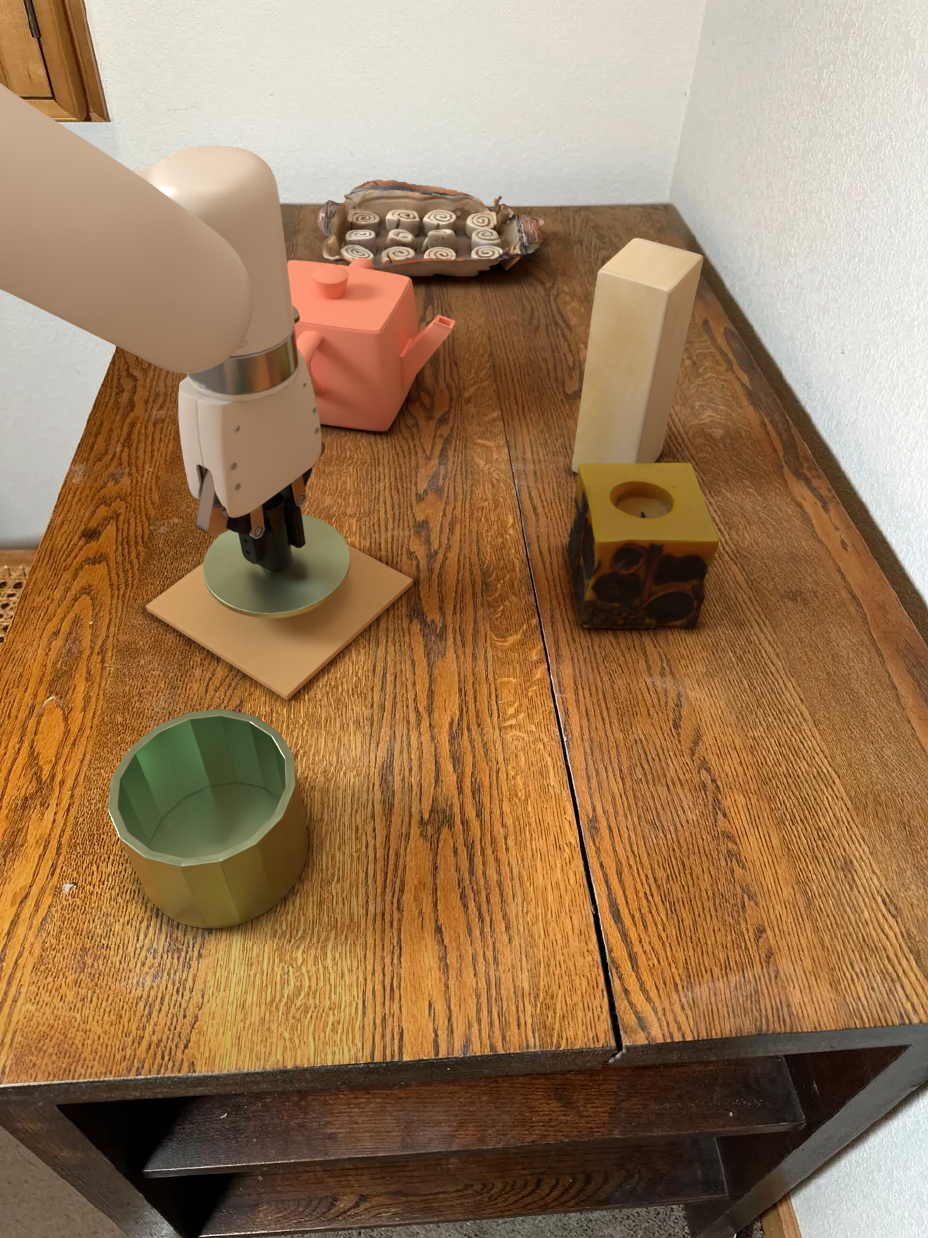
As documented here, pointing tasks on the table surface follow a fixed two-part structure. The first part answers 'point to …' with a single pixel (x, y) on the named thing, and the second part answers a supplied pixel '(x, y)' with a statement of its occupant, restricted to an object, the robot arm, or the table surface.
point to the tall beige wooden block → (635, 352)
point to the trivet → (282, 624)
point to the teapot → (360, 340)
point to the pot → (211, 817)
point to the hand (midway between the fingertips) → (274, 549)
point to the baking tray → (424, 230)
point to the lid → (278, 568)
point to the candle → (640, 545)
